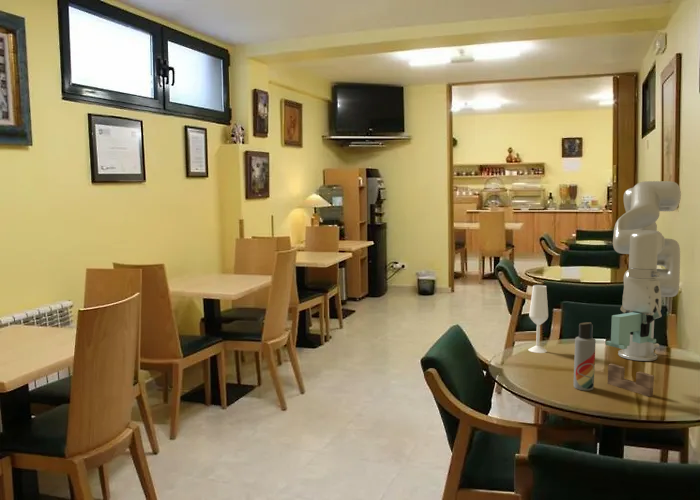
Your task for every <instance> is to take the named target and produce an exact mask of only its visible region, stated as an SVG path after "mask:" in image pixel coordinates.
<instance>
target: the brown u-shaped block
mask: <svg viewBox="0 0 700 500" xmlns="http://www.w3.org/2000/svg"><path fill="white" fill-rule="evenodd" d="M625 370H626V369H625V367H624V366H622V365H618V364H615V363H609V364H608V365H607V384H608V385H612V386H615V387H617V388H621V389H623V390H627V391H630V392H633V393H636V394H641V395H643V396H646V397H653V396H654V383H655V382H654V381H655V376H654V374H650V373H646V372H643V371H637V372H635V373H636V374H635V381H633V380H630V379H627V378H625Z"/></svg>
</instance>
